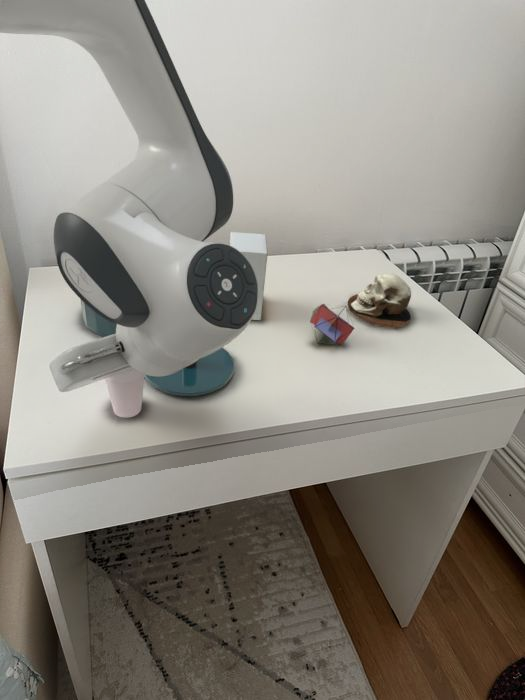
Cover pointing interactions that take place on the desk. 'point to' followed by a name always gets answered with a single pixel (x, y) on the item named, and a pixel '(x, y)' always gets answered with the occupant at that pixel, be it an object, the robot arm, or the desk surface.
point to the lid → (197, 376)
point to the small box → (253, 260)
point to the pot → (97, 322)
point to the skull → (383, 302)
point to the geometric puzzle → (331, 324)
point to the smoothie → (126, 392)
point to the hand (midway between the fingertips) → (125, 359)
